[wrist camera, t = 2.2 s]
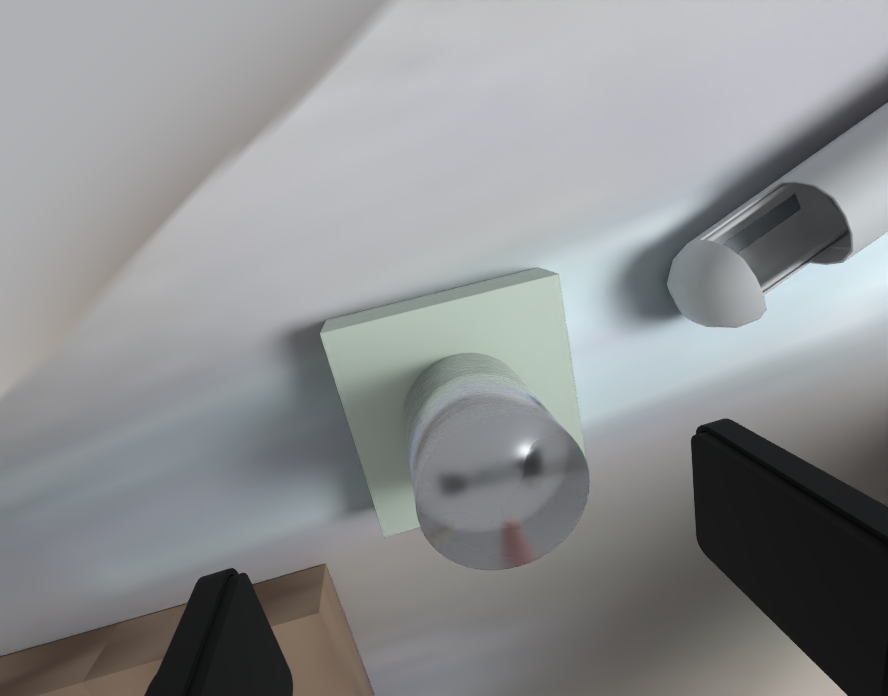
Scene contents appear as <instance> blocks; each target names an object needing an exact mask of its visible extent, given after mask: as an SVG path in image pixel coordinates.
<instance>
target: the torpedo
mask: <svg viewBox="0 0 888 696" xmlns="http://www.w3.org/2000/svg"><path fill="white" fill-rule="evenodd" d="M794 194H795V195H796V198H797V200H798V203H799V205H800V208H801V209H800V210H798V211H797V212H796V213H794V214H793V215H791V216H790V217H788V218H787V219H786V220H784V221H783V222H781V223H780V224H778V225H777V226H776V227H774V228H773V229H771V230H770V231H768V232H767V233H766V234H764V235H763V236H761V237H760V238H758V239H757V240H756V241H754V242H753V243H751V244H750V245H748V246H747V247H746V248H744V249H743V250H741V251H740V252H738V253H737V254H736V253H735V252H734V251H733V250H732V249H730V248H729V247H728V246H725V245H723V244H724V243H725V242H727V241H728V240H729V239H731V238H732V237H734V236H735V235H737V234H738V233H739V232H741V231H742V230H744V229H745V228H747V227H748V226H749V225H751V224H752V223H754V222H755V221H757V220H758V219H759V218H761V217H762V216H764V215H765V214H767V213H768V212H769V211H771V210H772V209H774V208H775V207H776V206H778V205H779V204H781V203H782V202H784V201H785V200H786V199H788V198H789V197H791V196H792V195H794ZM887 232H888V102H887V103H886V104H884V105H883V106H882V107H880V108H879V109H877V110H876V111H874V112H873V113H872V114H870V115H869V116H867V117H866V118H865V119H863V120H862V121H860V122H859V123H857V124H856V125H855V126H853V127H852V128H850V129H849V130H847V131H846V132H845V133H843V134H842V135H840V136H839V137H838V138H836V139H835V140H833V141H832V142H830V143H829V144H828V145H826V146H825V147H823V148H822V149H821V150H819V151H818V152H816V153H815V154H813V155H812V156H811V157H809V158H808V159H806V160H805V161H804V162H802V163H801V164H799V165H798V166H796V167H795V168H794V169H792V170H791V171H789V172H788V173H786V174H785V175H784V176H782V177H781V178H779V179H778V180H777V181H775V182H774V183H772V184H771V185H769V186H768V187H767V188H765V189H764V190H762V191H761V192H760V193H758V194H757V195H755V196H754V197H752V198H751V199H750V200H748V201H747V202H745V203H744V204H743V205H741V206H740V207H738V208H737V209H735V210H734V211H733V212H731V213H730V214H728V215H727V216H726V217H724V218H723V219H721V220H720V221H718V222H717V223H716V224H714V225H713V226H711V227H710V228H708V229H707V230H706V231H704V232H703V233H701V234H700V235H699V236H697V237H696V238H694V239H693V240H691V241H690V242H689V243H687V244H686V245H685V246H684V247H683V249H682V250H681V251H680V252H679V253H678V254H677V255H676V257H675V258H674V259H673V261H672V265H671V269H670V273H669V277H668V281H667V286H668V289H669V292H670V294H671V296H672V298H673V300H674V302H675V303H676V305H677V307H678V308H679V310H680V312H681V313H682V314H683V315H684V316H686V317H687V318H688V319H689V320H691V321H693V322H695V323H698V324H701V325H704V326H707V327H732V328H737V327H740V326H742V325H745V324H748V323H750V322H753V321H755V320H758V319H760V318H761V316H762V315H763V314H764V312H765V311H766V310H767V309H766V304H765V299H764V295H765V294H766V293H767V292H769V291H770V290H772V289H773V288H775V287H776V286H778V285H779V284H780V283H782V282H783V281H785V280H786V279H788V278H789V277H791V276H792V275H793V274H795V273H796V272H798V271H799V270H801V269H802V268H804V267H805V266H806V265H808V264H809V263H815V264H824V265H828V264H835V263H843V262H844V261H846V260H847V259H849V258H850V257H852V256H853V255H855V254H856V253H858V252H859V251H860V250H862V249H863V248H865V247H866V246H868V245H869V244H871V243H872V242H873V241H875V240H876V239H878V238H879V237H881V236H882V235H884V234H885V233H887Z"/></svg>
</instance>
